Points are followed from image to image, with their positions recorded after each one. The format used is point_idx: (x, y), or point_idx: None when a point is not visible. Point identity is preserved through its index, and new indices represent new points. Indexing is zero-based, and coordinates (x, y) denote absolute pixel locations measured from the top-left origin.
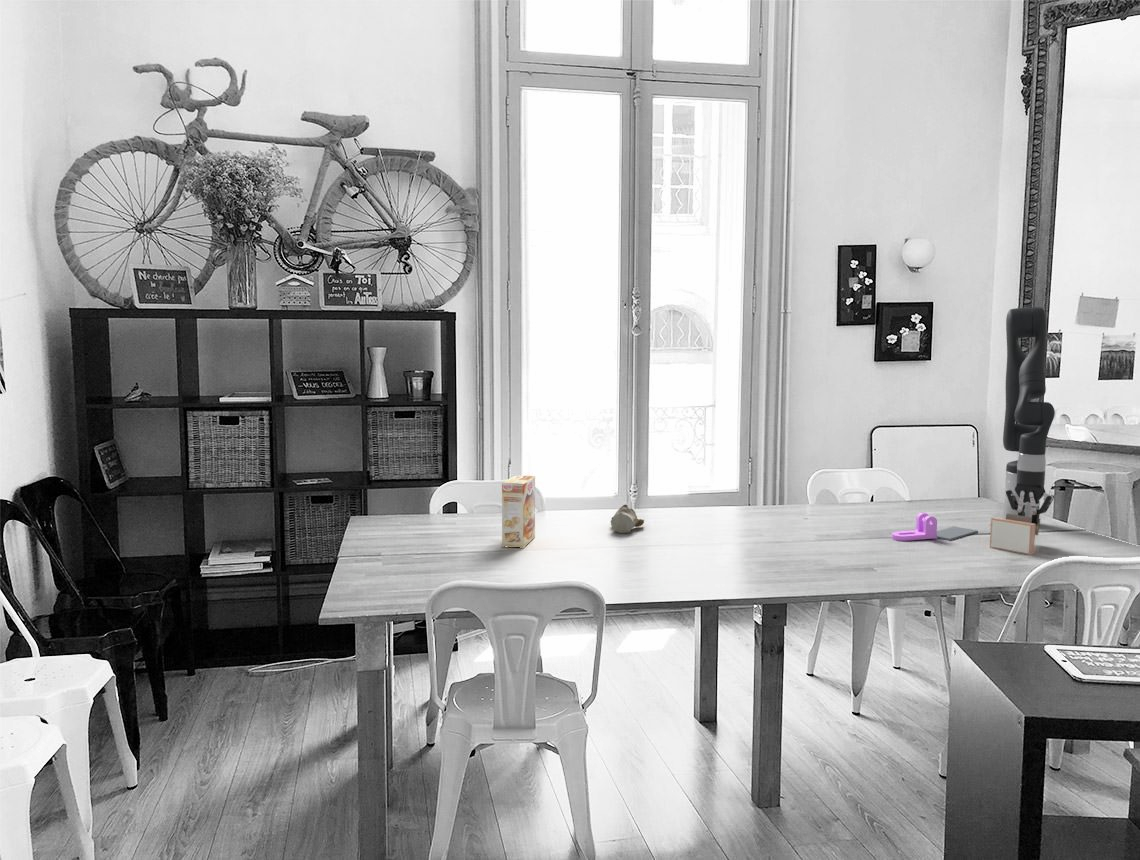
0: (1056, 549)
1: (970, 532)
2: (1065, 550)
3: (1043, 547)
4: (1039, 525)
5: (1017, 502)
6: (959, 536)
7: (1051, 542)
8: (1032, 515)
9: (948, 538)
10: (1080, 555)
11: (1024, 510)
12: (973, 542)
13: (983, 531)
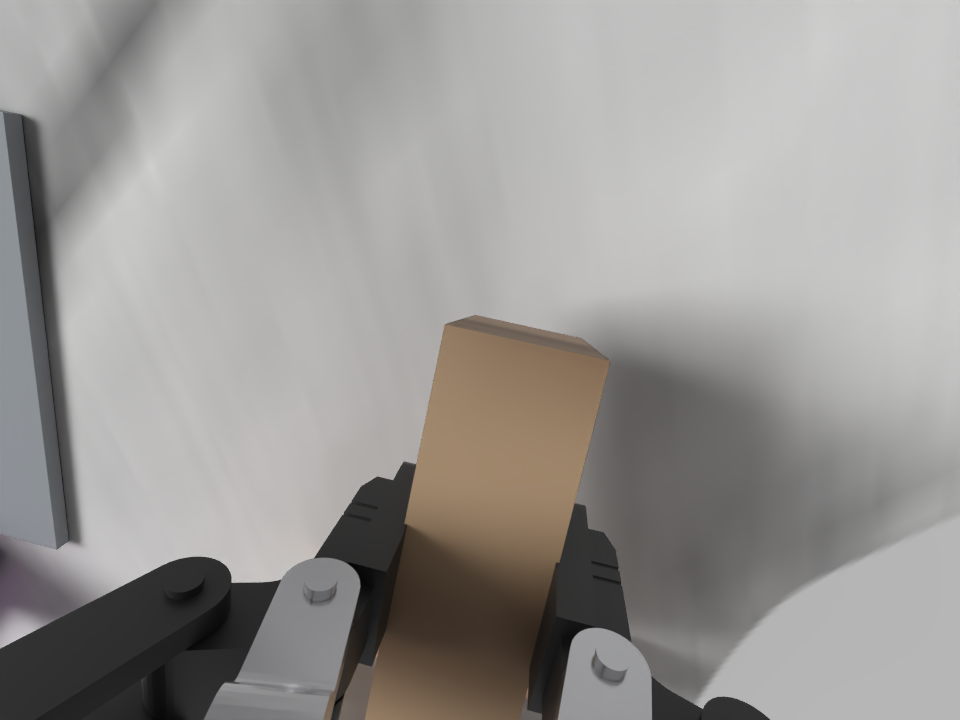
0: (747, 399)
1: (16, 252)
2: (826, 393)
3: (637, 385)
4: (595, 350)
5: (117, 673)
6: (46, 430)
7: (682, 105)
8: (536, 700)
9: (47, 545)
10: (950, 507)
11: (358, 593)
12: (185, 506)
13: (25, 22)
